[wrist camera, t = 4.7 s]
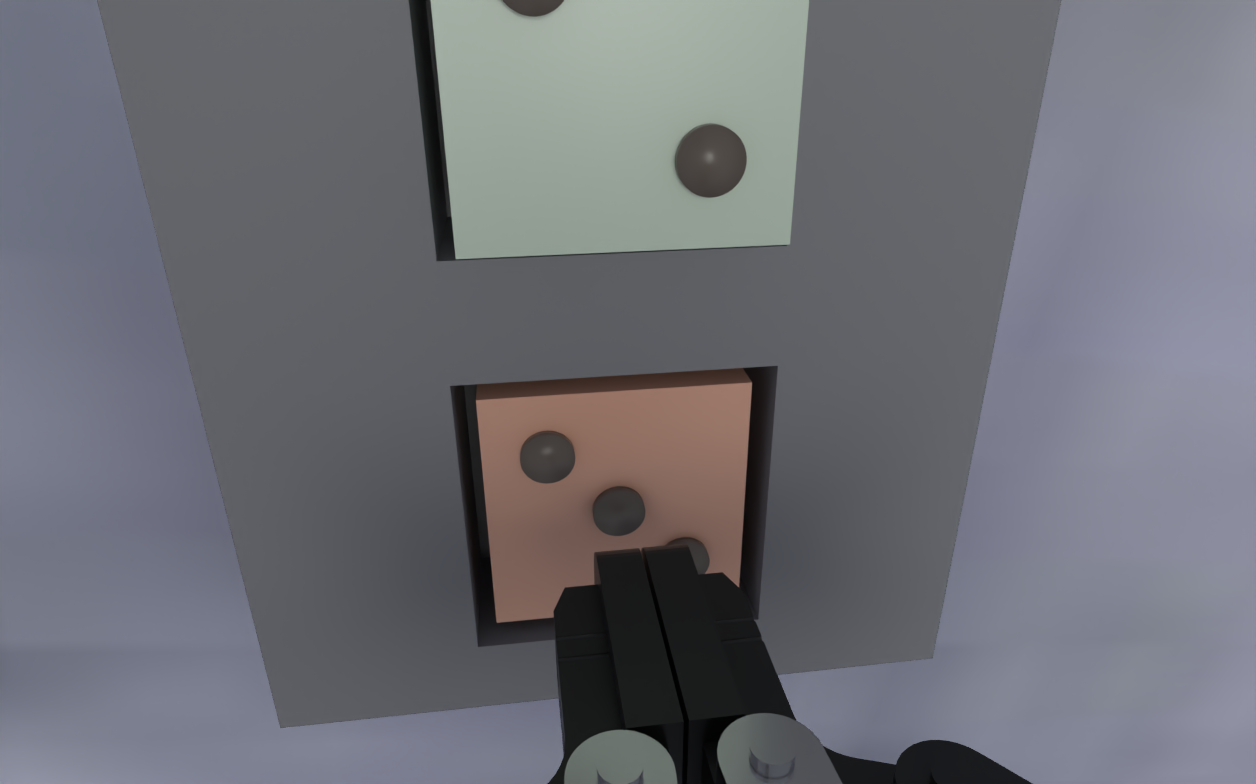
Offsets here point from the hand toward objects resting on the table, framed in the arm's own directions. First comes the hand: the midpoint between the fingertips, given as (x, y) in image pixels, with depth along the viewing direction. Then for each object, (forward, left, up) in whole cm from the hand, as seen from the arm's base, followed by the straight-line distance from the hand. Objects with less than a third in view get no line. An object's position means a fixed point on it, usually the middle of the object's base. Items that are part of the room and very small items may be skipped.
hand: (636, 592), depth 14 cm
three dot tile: (0, 0, -5) cm, 5 cm away
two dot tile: (-8, 0, -4) cm, 9 cm away
